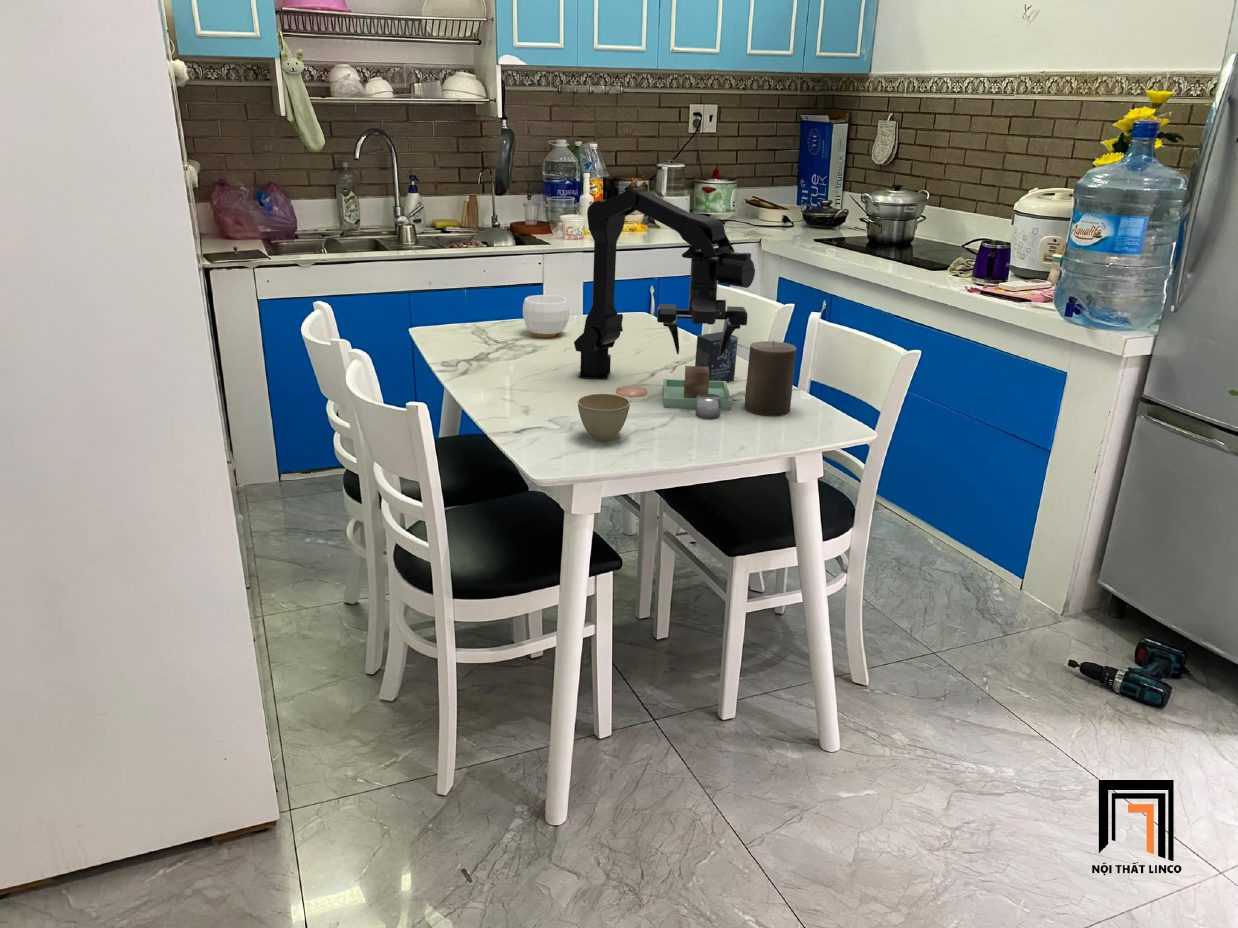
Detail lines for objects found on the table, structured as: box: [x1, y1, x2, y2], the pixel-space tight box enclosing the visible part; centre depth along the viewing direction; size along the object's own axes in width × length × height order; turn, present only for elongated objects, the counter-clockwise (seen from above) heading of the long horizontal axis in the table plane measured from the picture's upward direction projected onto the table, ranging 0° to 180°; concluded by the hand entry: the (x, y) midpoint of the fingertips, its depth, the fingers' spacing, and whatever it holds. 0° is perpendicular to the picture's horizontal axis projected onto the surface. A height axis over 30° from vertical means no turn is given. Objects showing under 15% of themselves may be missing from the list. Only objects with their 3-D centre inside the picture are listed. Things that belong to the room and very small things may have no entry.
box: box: [694, 331, 739, 382], centre depth 216 cm, size 8×6×11 cm
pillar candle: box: [744, 339, 797, 417], centre depth 196 cm, size 10×10×15 cm
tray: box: [662, 378, 732, 411], centre depth 204 cm, size 14×14×2 cm
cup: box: [522, 294, 570, 338], centre depth 250 cm, size 12×12×10 cm
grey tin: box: [695, 394, 721, 421], centre depth 193 cm, size 5×5×4 cm
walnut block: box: [684, 365, 710, 399], centre depth 203 cm, size 5×5×6 cm
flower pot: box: [576, 392, 631, 442], centre depth 179 cm, size 10×10×7 cm
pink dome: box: [615, 385, 649, 398], centre depth 207 cm, size 7×7×1 cm
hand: (699, 354), depth 200 cm, fingers open, 9 cm apart
